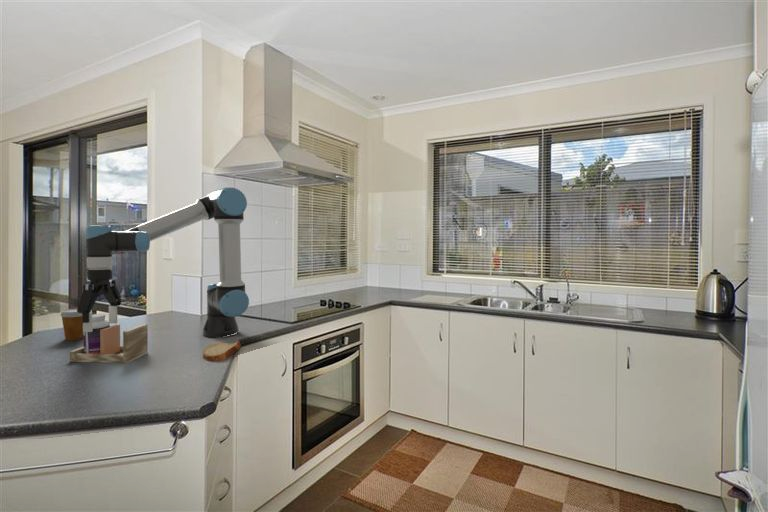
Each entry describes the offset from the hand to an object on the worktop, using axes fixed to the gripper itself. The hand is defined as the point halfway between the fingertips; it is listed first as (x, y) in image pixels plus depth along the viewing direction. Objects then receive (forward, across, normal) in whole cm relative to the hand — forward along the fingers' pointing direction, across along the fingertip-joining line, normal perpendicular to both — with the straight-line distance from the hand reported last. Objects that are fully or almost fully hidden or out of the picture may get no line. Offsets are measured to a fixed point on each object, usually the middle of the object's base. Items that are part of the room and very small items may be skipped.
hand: (101, 327), depth 152 cm
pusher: (+10, 0, +3) cm, 10 cm away
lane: (+11, 0, +3) cm, 11 cm away
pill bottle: (+10, 0, -1) cm, 10 cm away
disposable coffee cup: (+11, -25, -28) cm, 39 cm away
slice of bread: (+12, -8, +41) cm, 43 cm away
